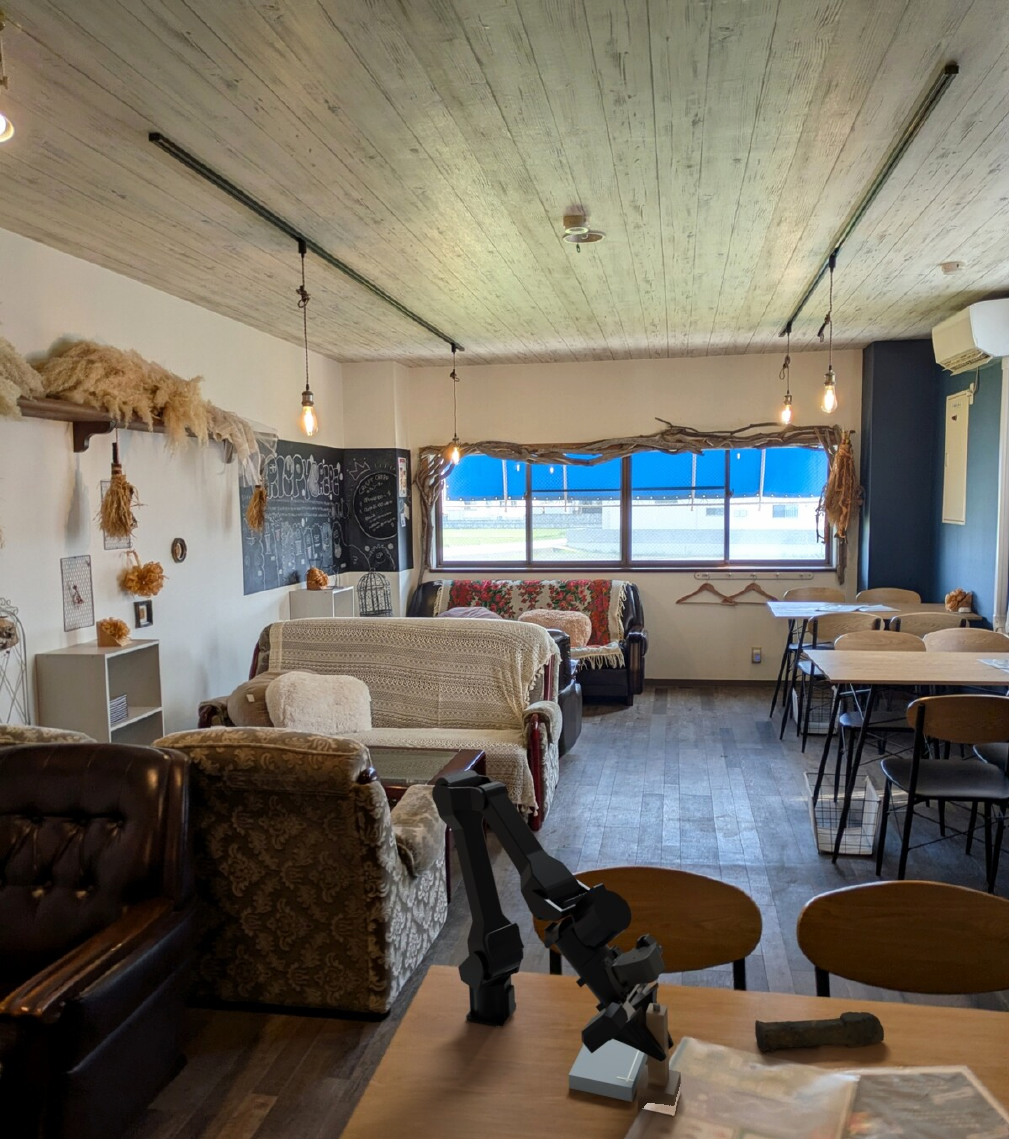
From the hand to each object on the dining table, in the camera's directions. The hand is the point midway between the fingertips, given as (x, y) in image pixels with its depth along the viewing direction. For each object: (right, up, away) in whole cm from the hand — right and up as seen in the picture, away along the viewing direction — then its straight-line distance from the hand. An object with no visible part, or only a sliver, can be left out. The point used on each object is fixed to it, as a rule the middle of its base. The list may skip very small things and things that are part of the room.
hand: (667, 1053), depth 118 cm
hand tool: (+25, -6, +13) cm, 29 cm away
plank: (-5, -7, +12) cm, 14 cm away
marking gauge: (-1, -7, +1) cm, 7 cm away
